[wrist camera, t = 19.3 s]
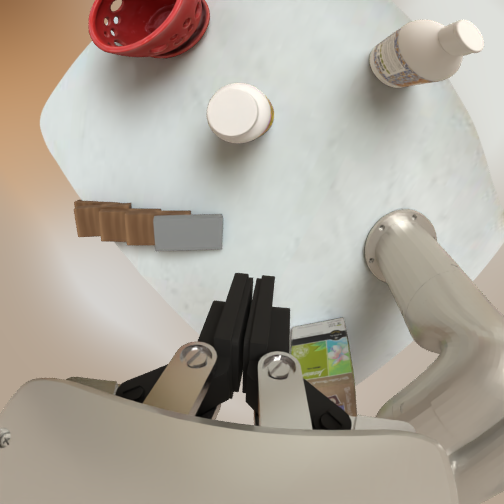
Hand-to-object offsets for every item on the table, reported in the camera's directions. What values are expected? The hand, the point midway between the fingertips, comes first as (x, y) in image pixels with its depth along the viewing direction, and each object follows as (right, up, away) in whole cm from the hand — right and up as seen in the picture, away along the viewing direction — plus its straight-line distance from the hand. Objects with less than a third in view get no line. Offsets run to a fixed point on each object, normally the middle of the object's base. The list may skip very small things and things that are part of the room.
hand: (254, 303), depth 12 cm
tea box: (+14, -17, +40) cm, 45 cm away
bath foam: (+19, +28, +16) cm, 37 cm away
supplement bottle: (0, +21, +23) cm, 31 cm away
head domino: (-5, +5, +30) cm, 31 cm away
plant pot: (-12, +34, +17) cm, 40 cm away
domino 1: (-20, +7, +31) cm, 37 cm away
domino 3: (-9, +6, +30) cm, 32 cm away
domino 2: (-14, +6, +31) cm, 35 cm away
